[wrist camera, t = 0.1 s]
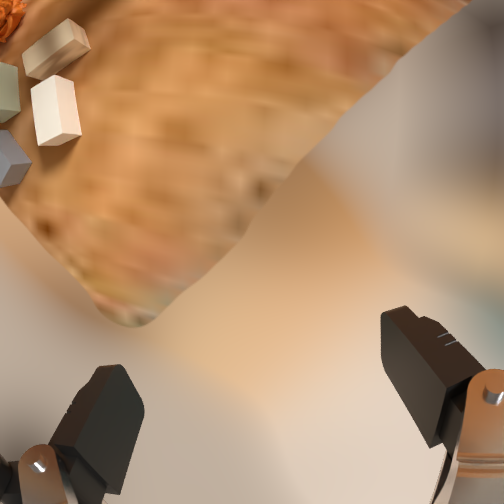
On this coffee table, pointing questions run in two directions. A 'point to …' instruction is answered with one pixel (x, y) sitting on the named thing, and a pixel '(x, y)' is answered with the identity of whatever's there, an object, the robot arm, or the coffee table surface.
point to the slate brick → (11, 160)
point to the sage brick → (9, 92)
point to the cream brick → (55, 111)
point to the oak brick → (55, 50)
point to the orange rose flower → (9, 17)
